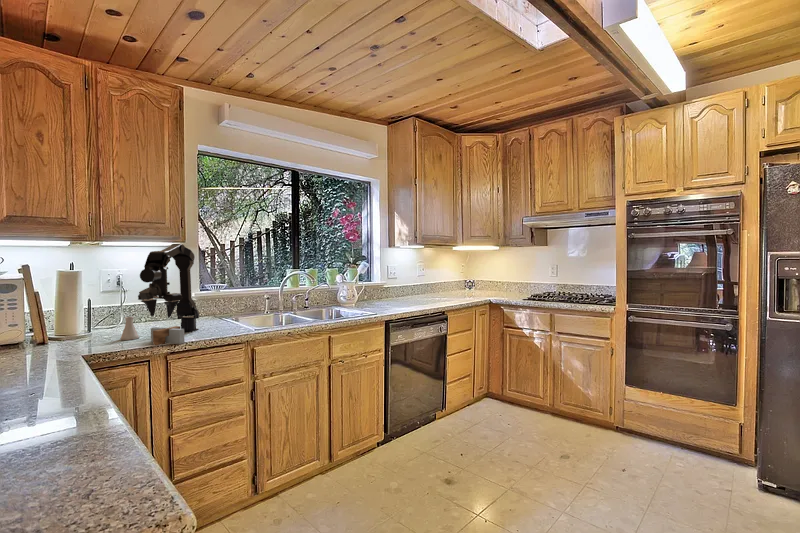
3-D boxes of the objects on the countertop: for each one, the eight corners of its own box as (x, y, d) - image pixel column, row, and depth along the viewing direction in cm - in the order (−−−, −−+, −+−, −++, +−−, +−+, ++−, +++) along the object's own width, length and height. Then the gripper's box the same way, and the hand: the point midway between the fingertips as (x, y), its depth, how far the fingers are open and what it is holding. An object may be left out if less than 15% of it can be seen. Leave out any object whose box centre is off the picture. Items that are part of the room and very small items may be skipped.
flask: (117, 339, 188) (116, 317, 187) (133, 336, 194) (133, 315, 194) (126, 341, 184) (125, 318, 184) (142, 338, 191) (141, 316, 190)
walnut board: (176, 339, 187) (175, 326, 187) (180, 339, 187) (180, 326, 186) (153, 345, 176) (152, 330, 176) (157, 345, 175) (157, 331, 175)
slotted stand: (155, 340, 185) (155, 327, 185) (184, 342, 180) (184, 329, 180) (151, 341, 182) (150, 328, 182) (179, 344, 178) (179, 330, 177)
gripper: (125, 281, 174) (127, 318, 175) (160, 282, 168) (161, 320, 169) (149, 279, 184) (150, 314, 185) (182, 280, 179) (183, 316, 180)
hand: (160, 316), depth 179 cm, fingers open, 9 cm apart
